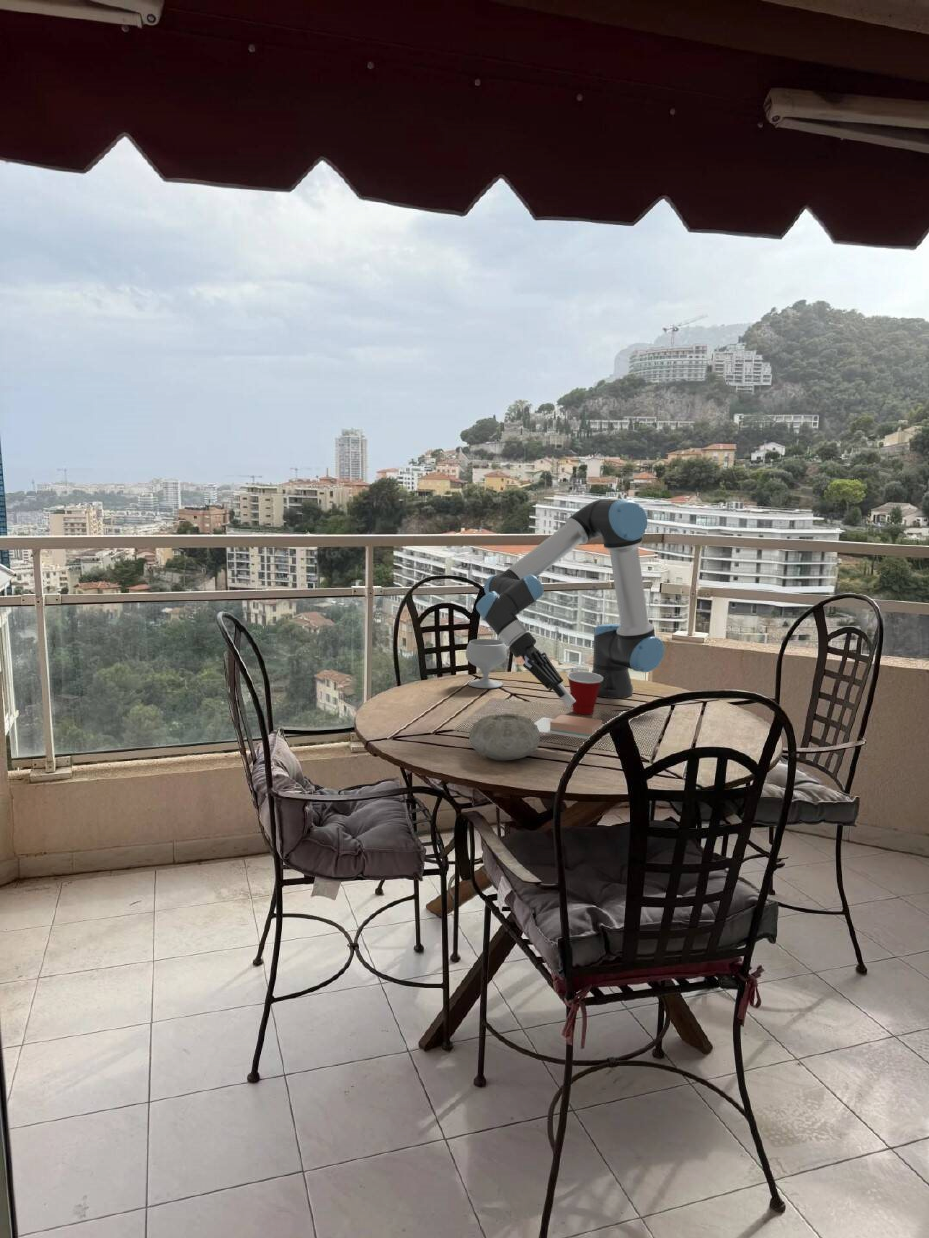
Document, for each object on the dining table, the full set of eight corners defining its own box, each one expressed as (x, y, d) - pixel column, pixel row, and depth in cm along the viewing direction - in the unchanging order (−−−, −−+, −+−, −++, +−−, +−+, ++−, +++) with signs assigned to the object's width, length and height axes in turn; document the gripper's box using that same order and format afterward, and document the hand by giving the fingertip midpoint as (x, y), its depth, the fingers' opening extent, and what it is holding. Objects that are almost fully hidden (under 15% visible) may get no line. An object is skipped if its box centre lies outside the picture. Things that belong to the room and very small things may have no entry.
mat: (524, 731, 226) (525, 729, 225) (542, 719, 238) (542, 717, 238) (594, 742, 217) (594, 740, 217) (609, 728, 229) (609, 726, 229)
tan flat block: (550, 721, 224) (592, 728, 219) (561, 714, 232) (602, 720, 227) (550, 730, 225) (592, 736, 220) (560, 722, 233) (601, 728, 228)
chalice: (506, 690, 271) (507, 646, 269) (464, 689, 272) (465, 645, 269) (505, 680, 285) (506, 638, 283) (465, 679, 286) (466, 637, 283)
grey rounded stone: (455, 757, 203) (455, 718, 201) (492, 739, 218) (493, 703, 216) (517, 771, 193) (518, 730, 192) (552, 752, 208) (553, 714, 206)
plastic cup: (576, 720, 237) (578, 680, 235) (558, 711, 247) (560, 672, 245) (608, 717, 241) (610, 678, 239) (590, 708, 251) (591, 670, 249)
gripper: (517, 644, 238) (570, 707, 233) (499, 651, 226) (554, 718, 222) (535, 627, 235) (588, 691, 230) (518, 634, 223) (574, 701, 218)
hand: (571, 704), depth 226 cm, fingers closed
